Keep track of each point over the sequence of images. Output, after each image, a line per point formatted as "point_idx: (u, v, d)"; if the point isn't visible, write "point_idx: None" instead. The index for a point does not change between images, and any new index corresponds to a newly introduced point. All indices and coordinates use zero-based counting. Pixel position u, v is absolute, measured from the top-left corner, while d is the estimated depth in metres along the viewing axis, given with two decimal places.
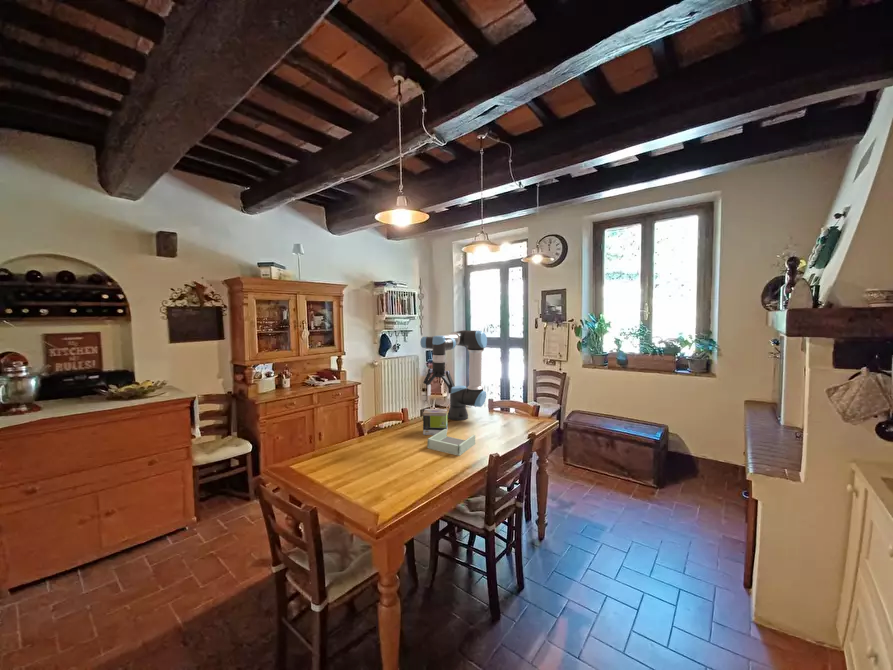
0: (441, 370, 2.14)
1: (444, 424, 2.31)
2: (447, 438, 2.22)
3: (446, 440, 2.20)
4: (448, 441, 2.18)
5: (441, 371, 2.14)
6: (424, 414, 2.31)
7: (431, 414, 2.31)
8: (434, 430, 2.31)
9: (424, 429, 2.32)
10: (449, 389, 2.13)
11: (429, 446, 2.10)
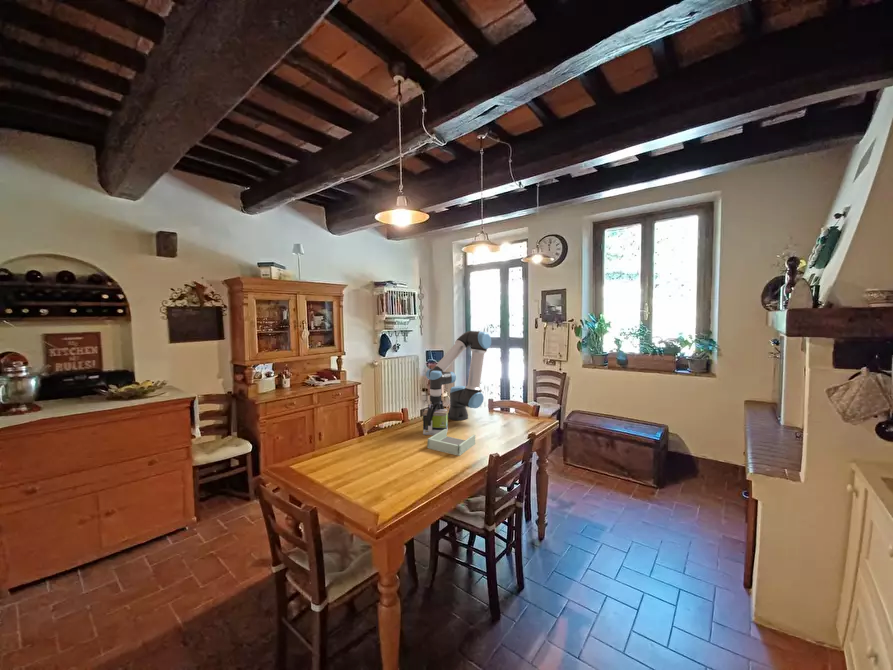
0: None
1: (444, 424, 2.31)
2: (447, 438, 2.22)
3: (446, 440, 2.20)
4: (448, 441, 2.18)
5: None
6: (424, 414, 2.32)
7: None
8: (434, 430, 2.31)
9: (424, 429, 2.32)
10: None
11: (429, 446, 2.10)
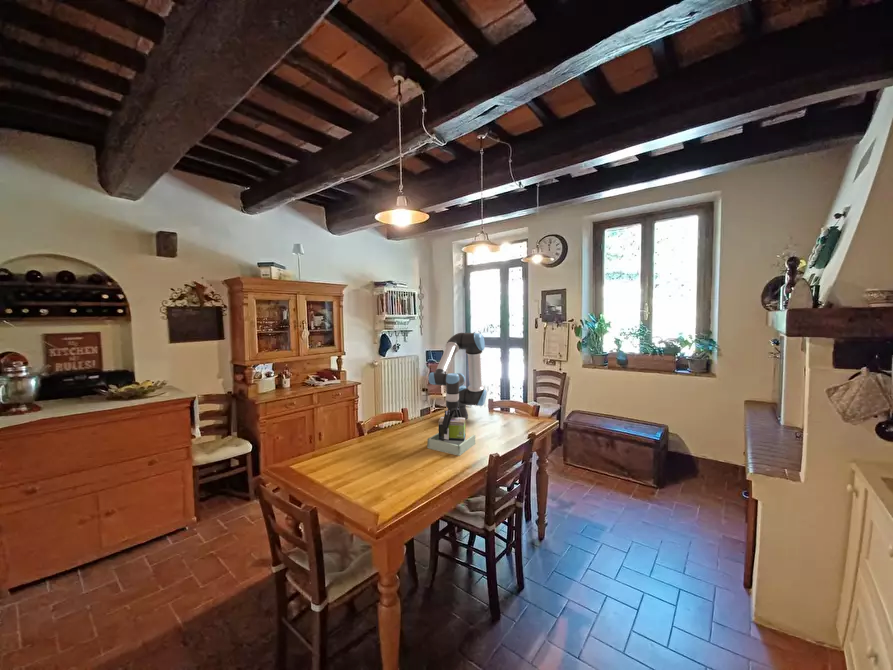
0: None
1: (462, 434, 2.09)
2: None
3: None
4: None
5: None
6: (440, 423, 2.10)
7: None
8: (450, 441, 2.10)
9: (439, 439, 2.11)
10: None
11: (429, 446, 2.10)
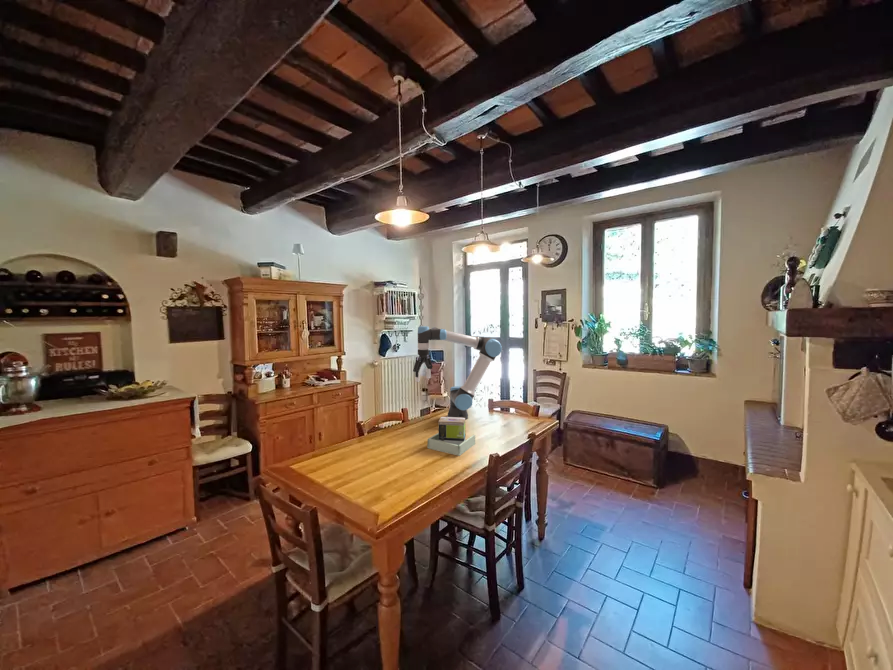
0: None
1: (462, 434, 2.09)
2: None
3: None
4: None
5: None
6: (440, 423, 2.10)
7: (447, 423, 2.10)
8: (450, 441, 2.10)
9: (439, 439, 2.11)
10: None
11: (429, 446, 2.10)
